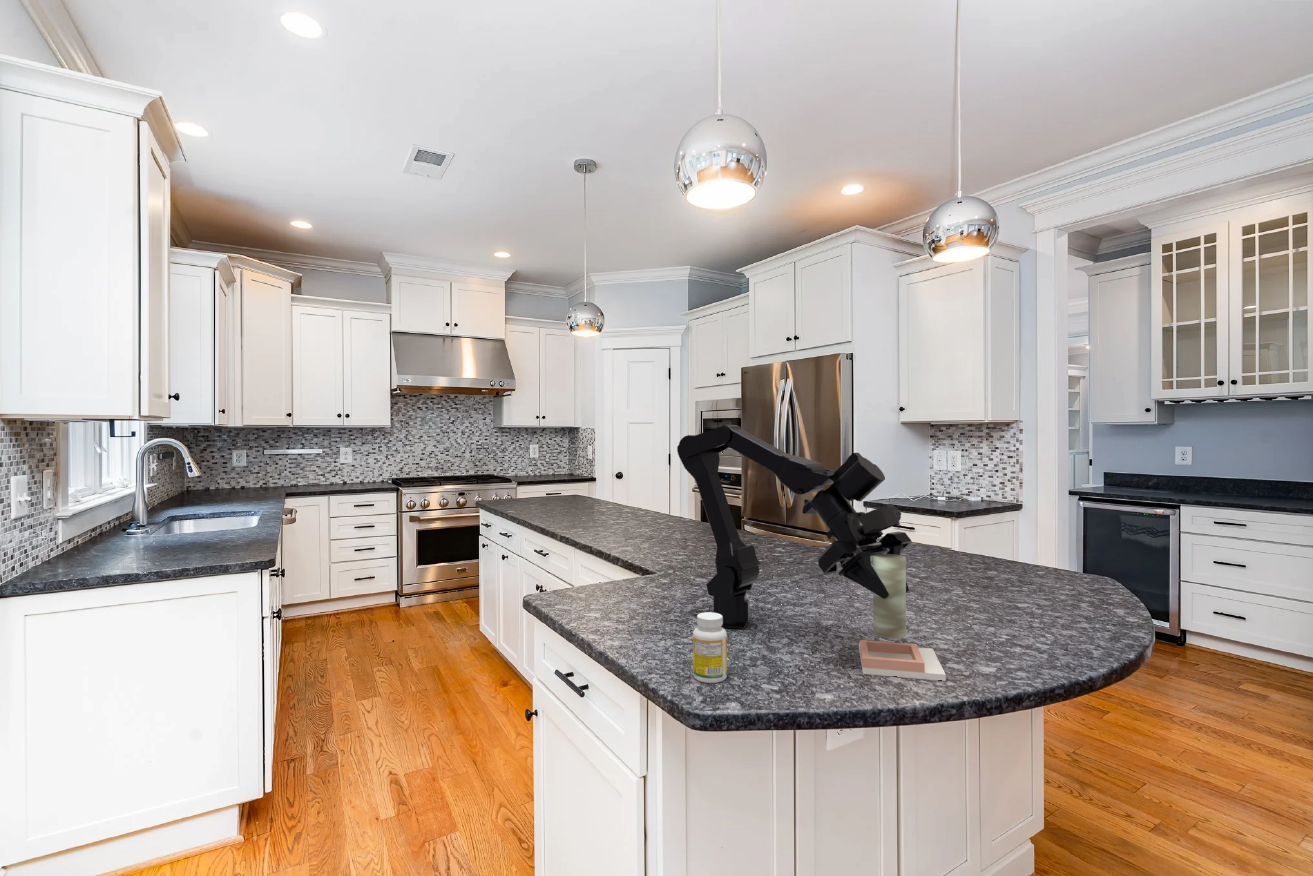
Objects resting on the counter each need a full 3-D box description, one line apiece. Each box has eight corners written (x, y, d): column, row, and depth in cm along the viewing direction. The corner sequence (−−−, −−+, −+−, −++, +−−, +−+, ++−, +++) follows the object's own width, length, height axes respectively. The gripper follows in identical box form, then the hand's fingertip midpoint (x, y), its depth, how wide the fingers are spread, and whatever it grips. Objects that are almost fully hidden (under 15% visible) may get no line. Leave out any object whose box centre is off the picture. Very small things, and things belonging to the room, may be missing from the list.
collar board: (862, 673, 97) (862, 658, 97) (858, 648, 109) (858, 634, 109) (945, 681, 94) (945, 664, 94) (932, 654, 106) (932, 639, 106)
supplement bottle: (714, 686, 93) (713, 623, 93) (685, 678, 96) (685, 616, 96) (734, 676, 97) (733, 614, 97) (706, 668, 101) (705, 609, 101)
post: (874, 637, 99) (874, 558, 99) (872, 627, 104) (871, 553, 104) (908, 639, 98) (907, 560, 98) (904, 630, 102) (903, 554, 102)
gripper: (831, 491, 98) (893, 573, 89) (901, 485, 109) (962, 558, 100) (794, 534, 105) (848, 615, 96) (863, 525, 116) (918, 596, 107)
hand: (897, 594), depth 99 cm, fingers closed on post, 5 cm apart
